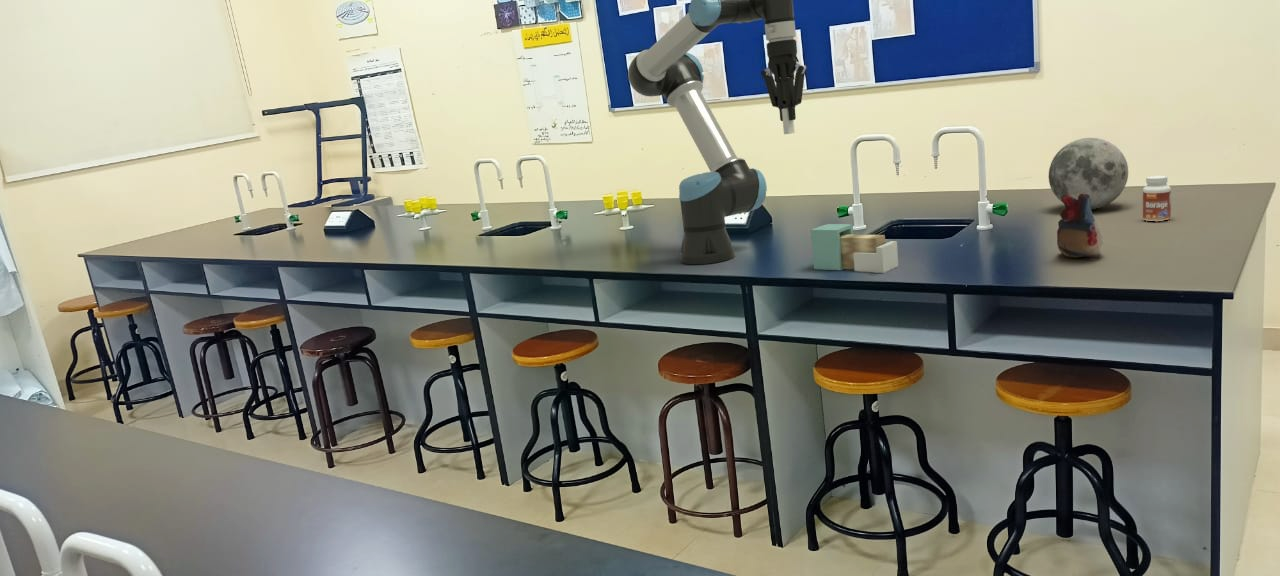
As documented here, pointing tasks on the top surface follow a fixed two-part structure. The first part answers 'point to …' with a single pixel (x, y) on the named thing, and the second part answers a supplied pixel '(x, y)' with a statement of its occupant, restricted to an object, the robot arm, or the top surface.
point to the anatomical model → (1078, 228)
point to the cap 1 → (828, 245)
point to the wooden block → (858, 246)
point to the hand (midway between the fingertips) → (789, 133)
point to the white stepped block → (877, 259)
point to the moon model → (1089, 171)
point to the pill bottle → (1156, 198)
